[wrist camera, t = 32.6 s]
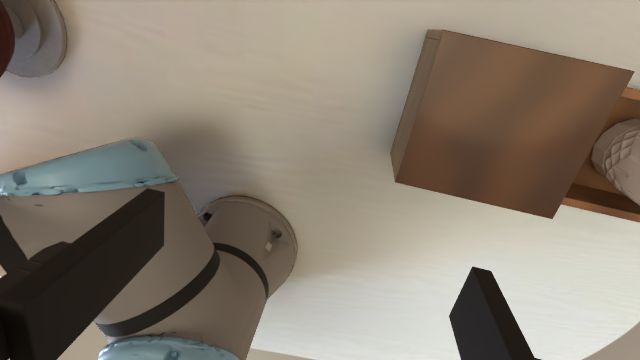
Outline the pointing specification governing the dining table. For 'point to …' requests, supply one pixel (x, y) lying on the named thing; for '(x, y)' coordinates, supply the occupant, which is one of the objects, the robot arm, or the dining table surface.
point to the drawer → (595, 188)
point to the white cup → (620, 157)
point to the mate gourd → (31, 37)
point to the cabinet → (501, 121)
